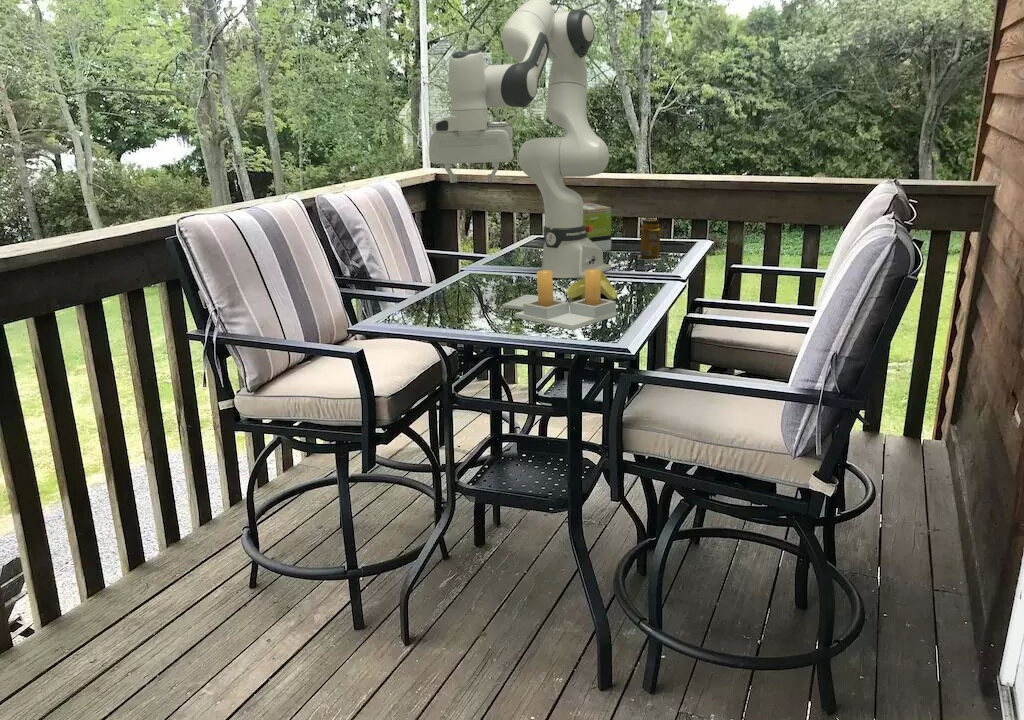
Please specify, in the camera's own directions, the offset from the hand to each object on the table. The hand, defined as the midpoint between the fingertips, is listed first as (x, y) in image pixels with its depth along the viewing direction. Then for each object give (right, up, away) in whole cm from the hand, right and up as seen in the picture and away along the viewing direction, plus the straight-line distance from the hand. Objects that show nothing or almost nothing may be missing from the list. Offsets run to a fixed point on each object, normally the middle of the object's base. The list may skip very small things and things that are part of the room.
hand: (472, 182), depth 198 cm
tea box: (+36, -5, +82) cm, 90 cm away
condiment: (+53, -11, +63) cm, 83 cm away
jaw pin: (+18, -32, -5) cm, 37 cm away
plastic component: (+29, -28, +10) cm, 42 cm away
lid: (+14, -29, +8) cm, 33 cm away
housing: (+22, -33, -4) cm, 40 cm away
